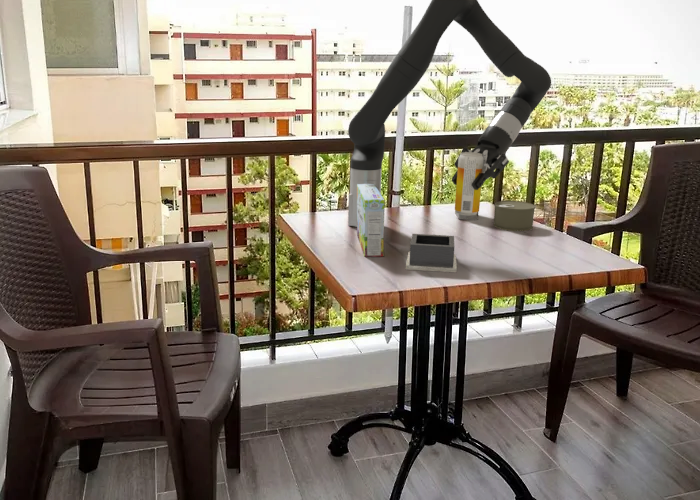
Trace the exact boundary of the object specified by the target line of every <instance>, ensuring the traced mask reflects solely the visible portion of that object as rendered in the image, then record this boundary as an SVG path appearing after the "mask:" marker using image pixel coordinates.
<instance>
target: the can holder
mask: <svg viewBox="0 0 700 500" xmlns="http://www.w3.org/2000/svg"><path fill="white" fill-rule="evenodd" d="M457 268H458V267H457V254H456V253H455V236H454V235H443V234H426V233H425V234H424V233H412V236H411V240H410V245H409V251H408V254H407V259H406V262H405V270H410V271H426V272H444V273H457V270H458V269H457Z"/></svg>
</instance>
